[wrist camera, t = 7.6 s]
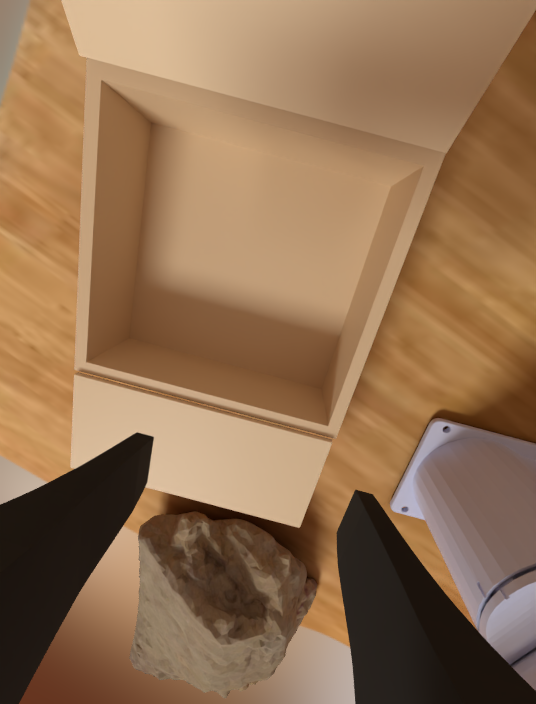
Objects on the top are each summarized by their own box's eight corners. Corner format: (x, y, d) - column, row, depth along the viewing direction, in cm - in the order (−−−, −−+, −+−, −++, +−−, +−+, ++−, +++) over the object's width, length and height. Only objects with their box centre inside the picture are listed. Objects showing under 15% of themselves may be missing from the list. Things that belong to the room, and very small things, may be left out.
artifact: (335, 509, 25) (157, 469, 26) (349, 603, 18) (102, 543, 19) (293, 668, 30) (143, 629, 31) (290, 794, 22) (94, 738, 23)
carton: (402, 179, 16) (449, 149, 11) (301, 466, 23) (302, 528, 18) (146, 111, 16) (81, 51, 11) (117, 418, 23) (67, 466, 18)
